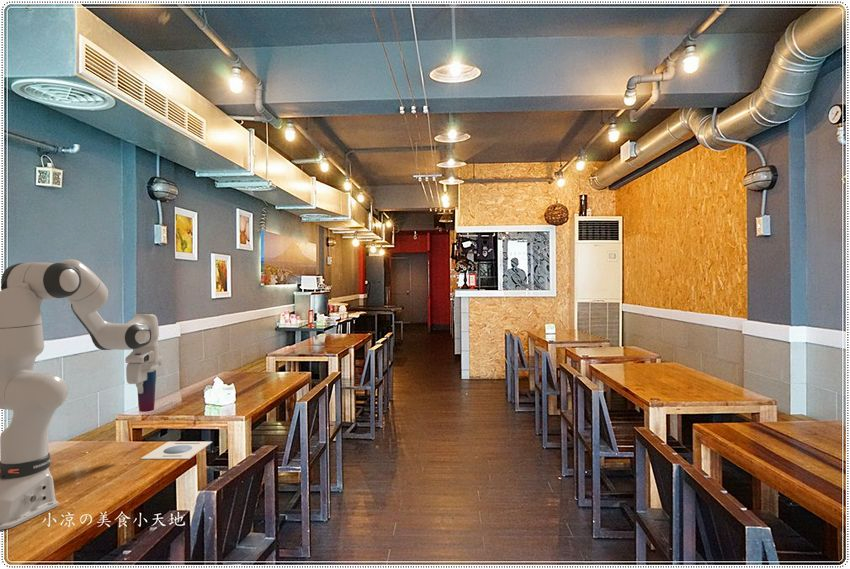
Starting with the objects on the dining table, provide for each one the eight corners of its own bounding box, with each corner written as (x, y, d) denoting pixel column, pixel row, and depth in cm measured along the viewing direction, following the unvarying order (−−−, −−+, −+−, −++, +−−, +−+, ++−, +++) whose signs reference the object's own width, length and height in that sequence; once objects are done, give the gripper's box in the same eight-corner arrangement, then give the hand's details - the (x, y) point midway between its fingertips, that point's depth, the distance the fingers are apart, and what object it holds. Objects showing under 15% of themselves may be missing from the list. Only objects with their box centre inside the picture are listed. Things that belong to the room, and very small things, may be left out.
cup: (136, 409, 199) (136, 370, 199) (156, 407, 202) (156, 369, 202) (136, 413, 193) (135, 373, 193) (156, 411, 196) (156, 371, 196)
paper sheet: (189, 459, 190) (189, 458, 190) (140, 459, 190) (140, 458, 190) (212, 442, 210) (212, 441, 210) (168, 442, 210) (168, 441, 210)
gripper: (152, 351, 208) (152, 385, 208) (122, 359, 187) (123, 397, 187) (167, 351, 208) (168, 385, 208) (139, 359, 187) (140, 397, 187)
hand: (146, 391), depth 197 cm, fingers closed on cup, 6 cm apart
